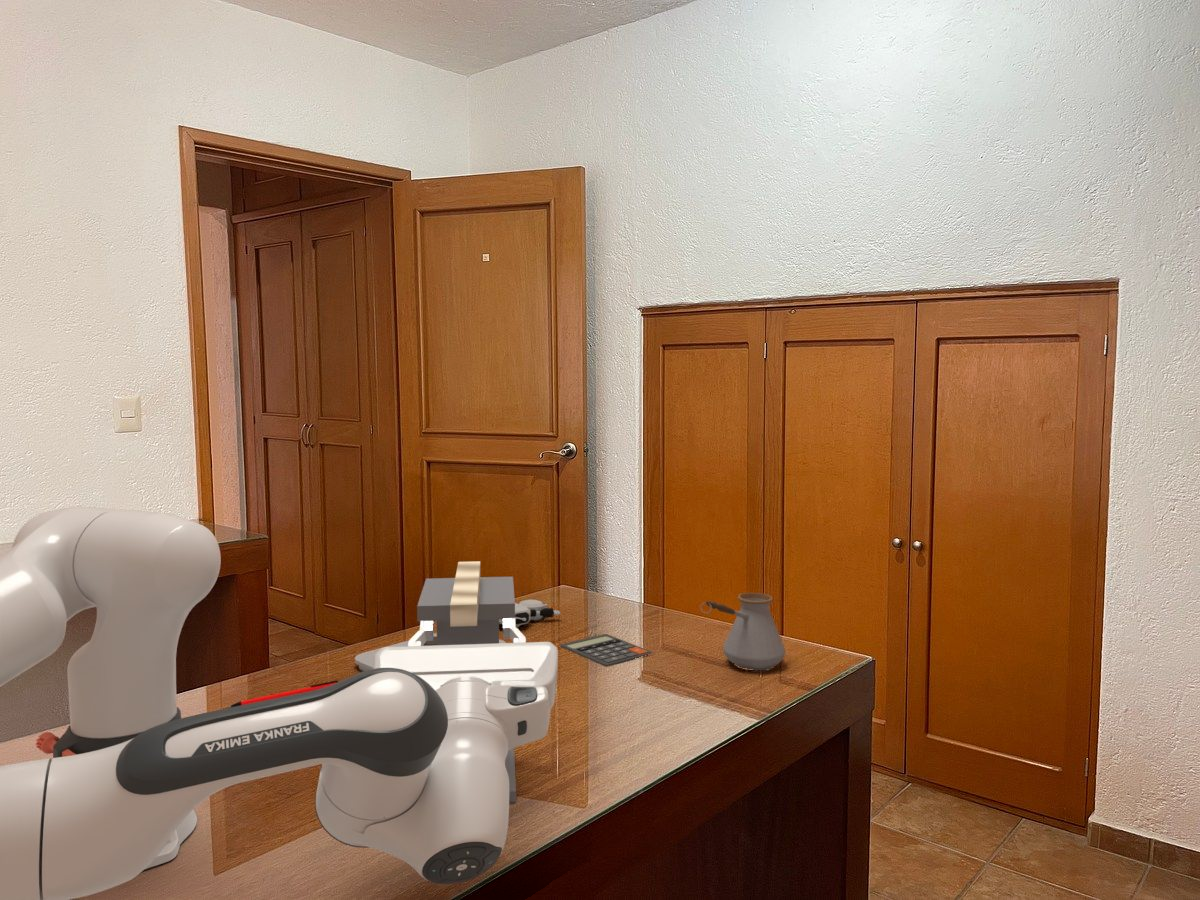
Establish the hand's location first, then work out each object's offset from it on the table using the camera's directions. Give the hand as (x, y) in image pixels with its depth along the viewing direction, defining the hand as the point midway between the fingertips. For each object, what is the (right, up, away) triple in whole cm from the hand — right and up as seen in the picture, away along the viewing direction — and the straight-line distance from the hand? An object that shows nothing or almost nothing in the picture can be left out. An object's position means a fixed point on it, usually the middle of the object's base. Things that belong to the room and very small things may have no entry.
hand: (468, 622), depth 104 cm
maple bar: (-2, +1, +9) cm, 9 cm away
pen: (-37, -22, +46) cm, 63 cm away
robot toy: (-2, -17, +89) cm, 90 cm away
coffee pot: (+41, -20, +59) cm, 74 cm away
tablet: (-16, -20, +64) cm, 69 cm away
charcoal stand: (-2, -24, +16) cm, 29 cm away
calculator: (+16, -20, +70) cm, 75 cm away
